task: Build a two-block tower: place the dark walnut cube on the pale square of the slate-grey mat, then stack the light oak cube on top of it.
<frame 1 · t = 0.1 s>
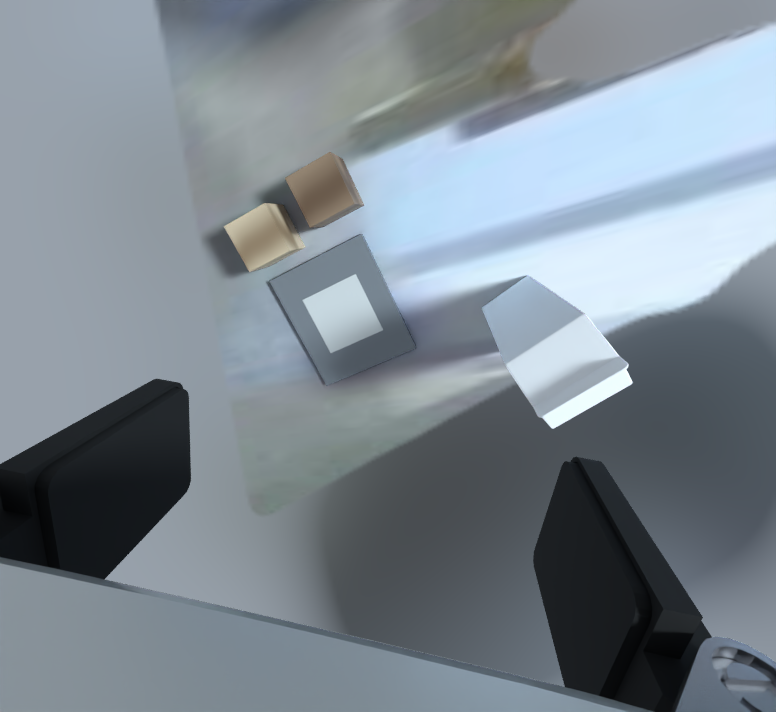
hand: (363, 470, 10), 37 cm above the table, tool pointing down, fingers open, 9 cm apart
oak block: (276, 236, 46), on the table
walnut block: (333, 193, 44), on the table
mat: (344, 313, 48), on the table
milk: (519, 312, 45), on the table
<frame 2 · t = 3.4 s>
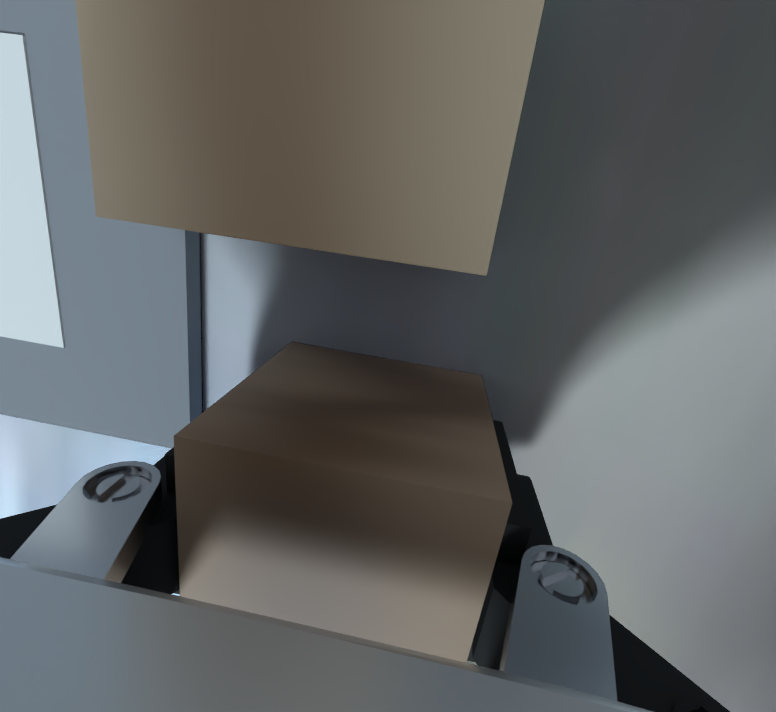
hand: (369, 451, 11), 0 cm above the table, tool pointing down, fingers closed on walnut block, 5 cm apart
oak block: (374, 114, 9), on the table
walnut block: (372, 442, 11), on the table, touching gripper
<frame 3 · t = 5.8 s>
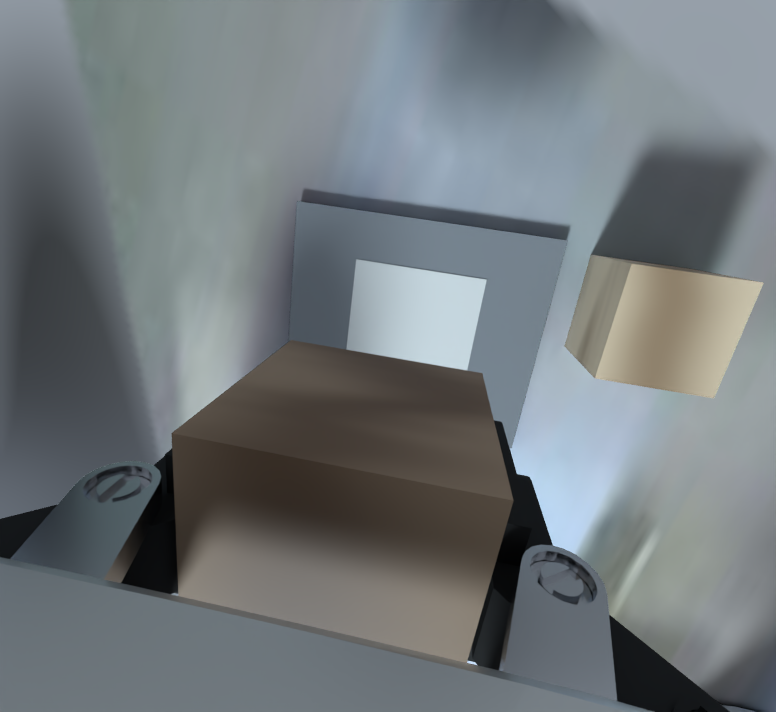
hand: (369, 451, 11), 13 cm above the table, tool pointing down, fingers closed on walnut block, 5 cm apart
oak block: (624, 309, 22), on the table
walnut block: (372, 440, 11), point 13 cm above the table, touching gripper
mat: (411, 329, 24), on the table
when the fingers open (2 cm above the table, at t = 8.1 s): walnut block stays where it is, resting on mat.
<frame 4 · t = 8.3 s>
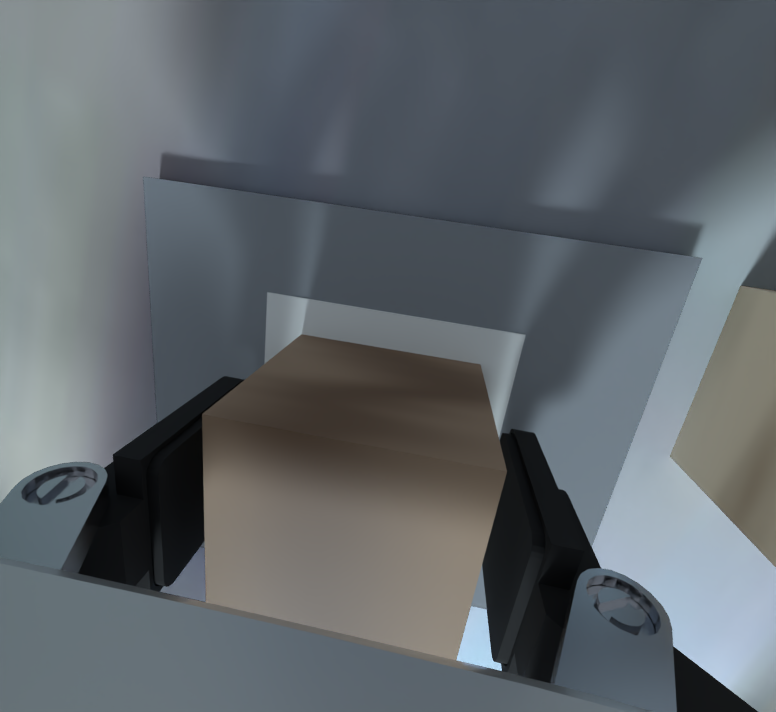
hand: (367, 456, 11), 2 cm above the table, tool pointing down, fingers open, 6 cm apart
walnut block: (378, 428, 12), point 1 cm above the table, touching mat
mat: (379, 418, 13), on the table
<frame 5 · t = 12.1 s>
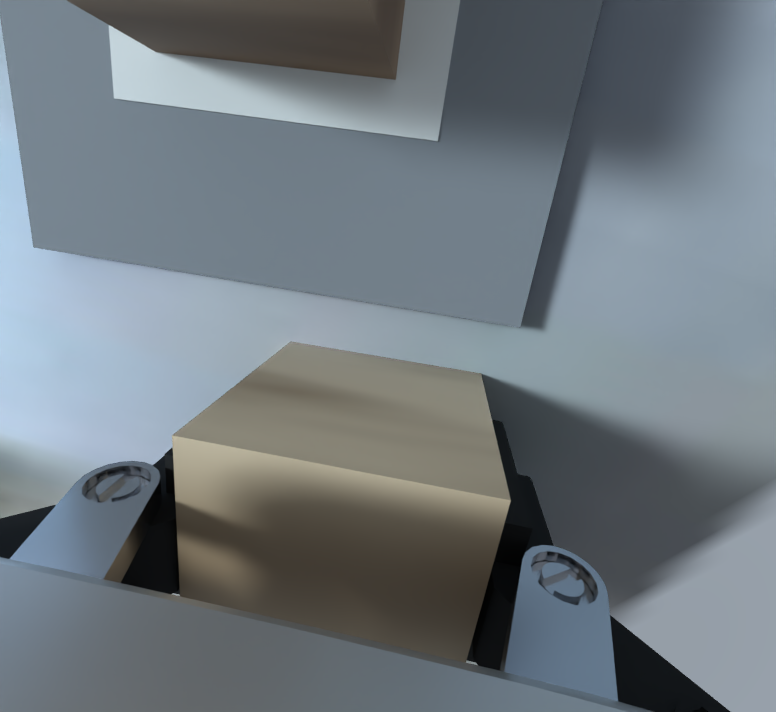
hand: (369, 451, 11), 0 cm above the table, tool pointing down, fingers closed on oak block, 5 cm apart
oak block: (372, 441, 11), on the table, touching gripper
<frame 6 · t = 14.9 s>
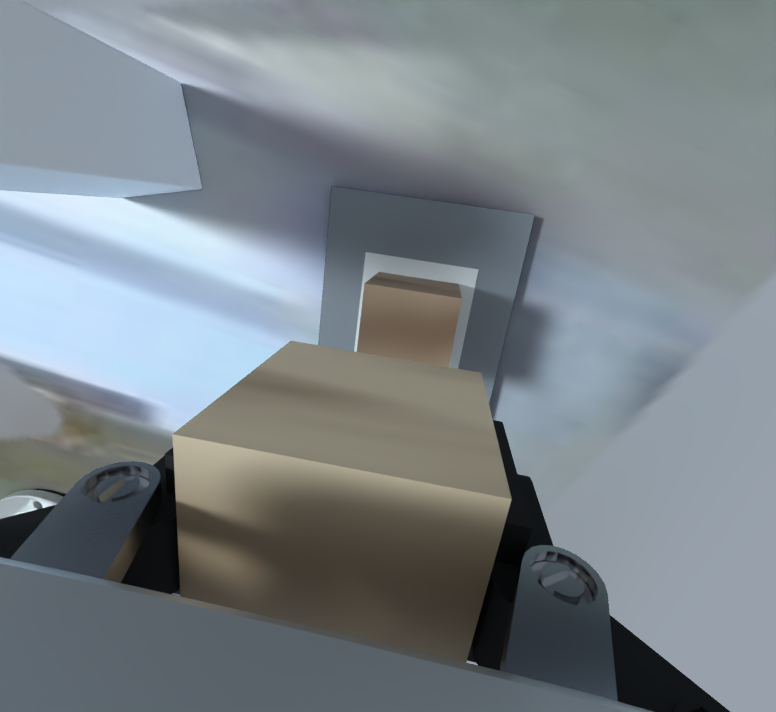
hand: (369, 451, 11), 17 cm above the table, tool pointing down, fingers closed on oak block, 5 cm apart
oak block: (372, 440, 11), point 16 cm above the table, touching gripper
walnut block: (412, 316, 26), point 1 cm above the table, touching mat
mat: (413, 313, 27), on the table
milk: (151, 143, 26), on the table
when the fingers open (7 cm above the table, at t = 17.5 s): oak block stays where it is, resting on walnut block.
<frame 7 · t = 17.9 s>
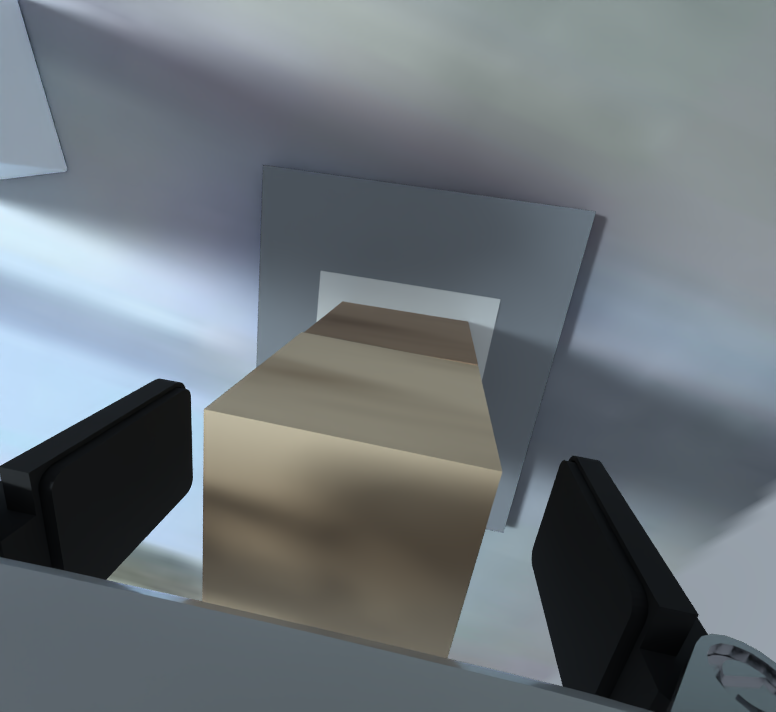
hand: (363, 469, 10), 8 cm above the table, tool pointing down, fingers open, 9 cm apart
oak block: (375, 427, 12), point 6 cm above the table, touching walnut block
walnut block: (395, 370, 17), point 1 cm above the table, touching mat, oak block
mat: (397, 363, 18), on the table
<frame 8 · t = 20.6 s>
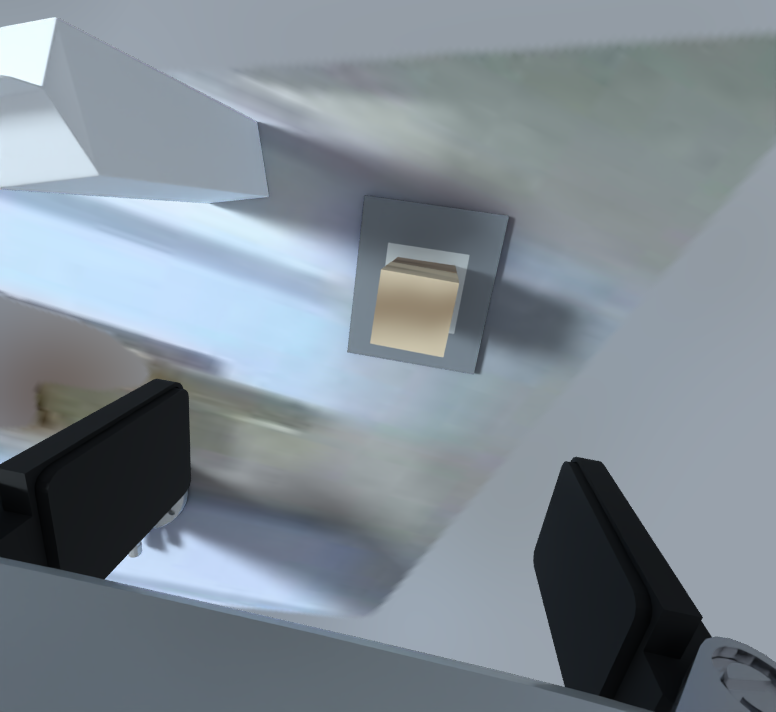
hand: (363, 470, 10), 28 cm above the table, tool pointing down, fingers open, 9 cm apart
oak block: (417, 300, 31), point 6 cm above the table, touching walnut block
walnut block: (421, 289, 36), point 1 cm above the table, touching mat, oak block
mat: (422, 288, 37), on the table
milk: (232, 164, 36), on the table
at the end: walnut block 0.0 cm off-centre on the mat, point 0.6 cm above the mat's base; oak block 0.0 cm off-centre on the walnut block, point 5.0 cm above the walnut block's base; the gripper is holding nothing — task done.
